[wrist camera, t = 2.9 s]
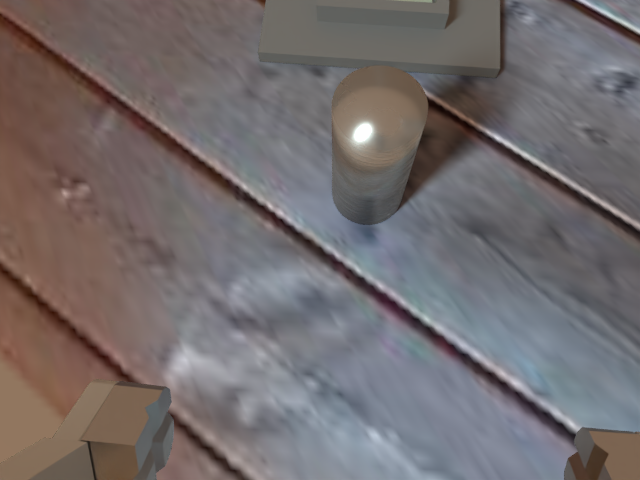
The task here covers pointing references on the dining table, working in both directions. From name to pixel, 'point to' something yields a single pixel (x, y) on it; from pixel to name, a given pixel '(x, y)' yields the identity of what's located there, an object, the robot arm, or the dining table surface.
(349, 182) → the cylinder
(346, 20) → the grey holder tray
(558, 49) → the dining table surface
